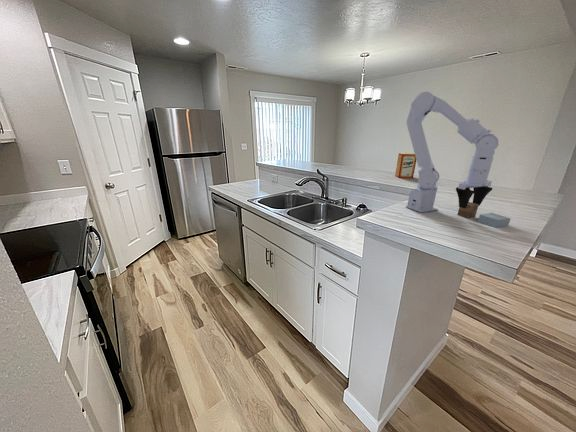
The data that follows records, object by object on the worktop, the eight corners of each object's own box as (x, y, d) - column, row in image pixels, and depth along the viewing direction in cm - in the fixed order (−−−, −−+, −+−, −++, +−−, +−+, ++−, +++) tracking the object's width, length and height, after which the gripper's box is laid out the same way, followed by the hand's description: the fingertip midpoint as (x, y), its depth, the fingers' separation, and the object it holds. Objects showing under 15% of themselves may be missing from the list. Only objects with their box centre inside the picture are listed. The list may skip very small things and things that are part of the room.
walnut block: (467, 218, 87) (471, 205, 85) (457, 215, 91) (460, 202, 89) (475, 217, 89) (478, 204, 87) (464, 213, 92) (467, 201, 90)
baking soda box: (409, 176, 164) (413, 152, 158) (412, 178, 158) (417, 153, 152) (395, 176, 165) (398, 152, 159) (398, 177, 159) (402, 153, 153)
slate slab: (496, 228, 79) (498, 220, 78) (477, 222, 84) (479, 214, 83) (507, 226, 81) (510, 218, 80) (489, 220, 86) (491, 212, 85)
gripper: (477, 173, 78) (466, 211, 82) (505, 170, 82) (493, 207, 87) (456, 169, 84) (447, 206, 88) (483, 167, 89) (473, 202, 93)
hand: (469, 206), depth 88 cm, fingers open, 7 cm apart
